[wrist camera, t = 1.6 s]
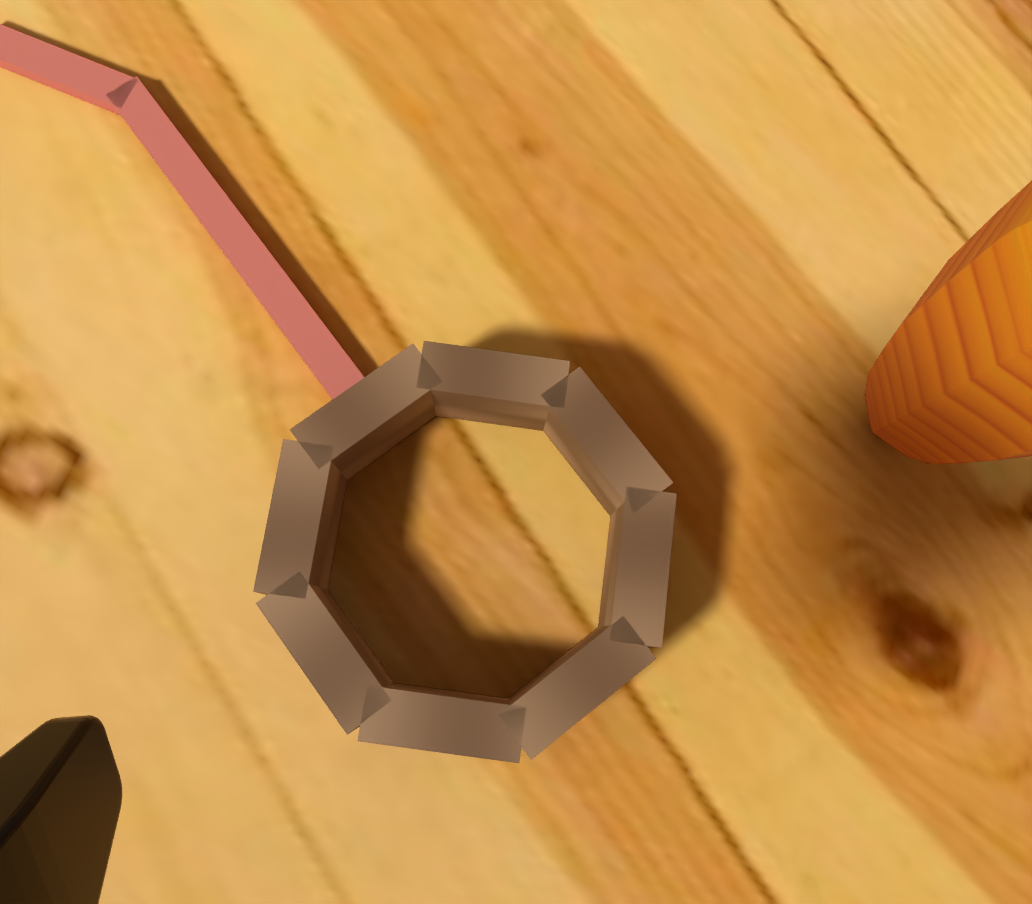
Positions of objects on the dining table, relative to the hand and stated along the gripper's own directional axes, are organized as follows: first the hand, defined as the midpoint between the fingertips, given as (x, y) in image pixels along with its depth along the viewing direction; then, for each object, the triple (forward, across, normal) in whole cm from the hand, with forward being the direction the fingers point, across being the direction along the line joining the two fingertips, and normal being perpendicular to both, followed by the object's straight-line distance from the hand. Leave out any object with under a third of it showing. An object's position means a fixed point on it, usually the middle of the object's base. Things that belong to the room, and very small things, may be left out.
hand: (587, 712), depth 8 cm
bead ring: (+13, +1, +6) cm, 15 cm away
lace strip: (+19, +9, -1) cm, 21 cm away
